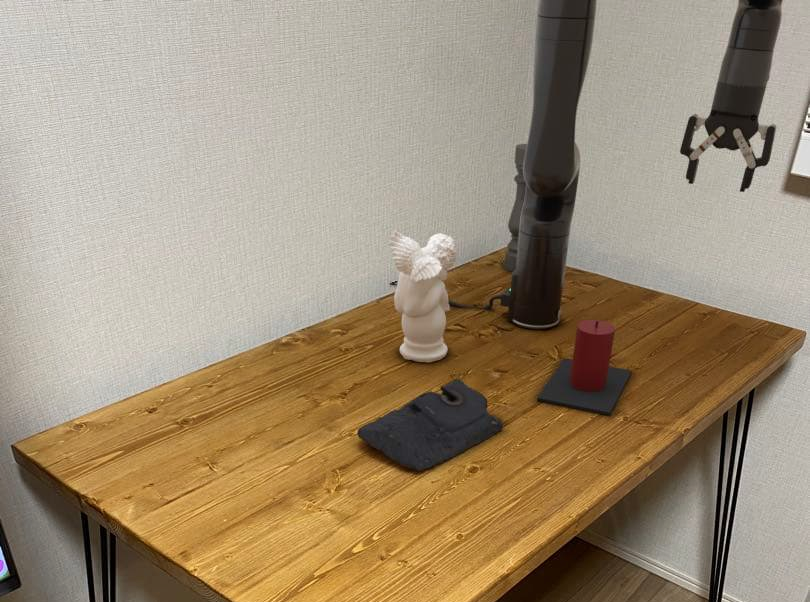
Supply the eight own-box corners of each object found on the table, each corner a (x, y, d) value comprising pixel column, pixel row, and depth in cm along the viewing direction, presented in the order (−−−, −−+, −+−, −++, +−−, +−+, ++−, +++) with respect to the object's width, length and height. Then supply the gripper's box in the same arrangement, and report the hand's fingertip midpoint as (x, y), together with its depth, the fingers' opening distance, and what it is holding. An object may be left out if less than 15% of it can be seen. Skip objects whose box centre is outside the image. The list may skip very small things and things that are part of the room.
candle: (565, 387, 147) (574, 324, 140) (574, 373, 151) (583, 311, 145) (601, 394, 145) (611, 330, 138) (609, 380, 149) (619, 317, 143)
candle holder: (533, 272, 193) (546, 150, 179) (505, 272, 193) (515, 149, 179) (530, 263, 198) (543, 143, 184) (503, 262, 198) (513, 143, 184)
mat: (536, 400, 144) (537, 397, 143) (563, 361, 156) (564, 357, 156) (609, 415, 140) (610, 412, 140) (631, 373, 153) (632, 370, 152)
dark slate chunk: (340, 440, 132) (340, 412, 129) (437, 393, 145) (439, 366, 142) (416, 479, 124) (417, 449, 121) (512, 425, 137) (515, 397, 134)
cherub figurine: (445, 340, 163) (451, 218, 150) (467, 368, 153) (475, 240, 140) (381, 346, 160) (382, 222, 147) (399, 375, 150) (402, 246, 137)
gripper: (693, 77, 140) (670, 185, 149) (787, 88, 135) (757, 198, 145) (701, 72, 145) (678, 176, 155) (791, 82, 141) (762, 189, 150)
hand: (716, 187), depth 150 cm, fingers open, 8 cm apart
